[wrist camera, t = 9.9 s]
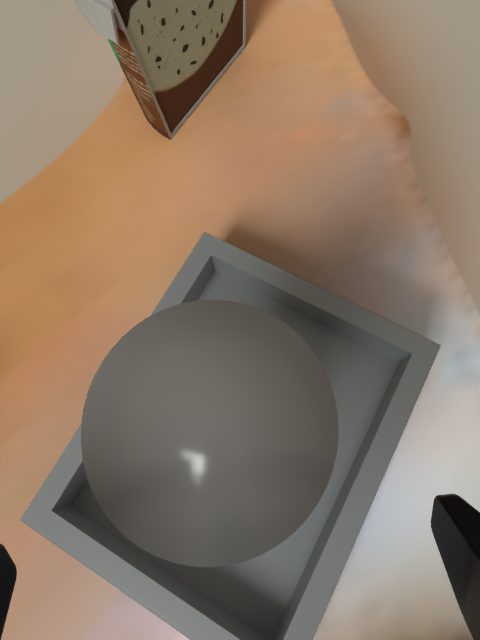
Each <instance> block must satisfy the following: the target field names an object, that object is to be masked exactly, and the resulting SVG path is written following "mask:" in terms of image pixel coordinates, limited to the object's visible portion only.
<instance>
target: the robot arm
mask: <svg viewBox="0 0 480 640" xmlns="http://www.w3.org/2000/svg"><path fill="white" fill-rule="evenodd" d="M431 528H432V532H433V535H434V538H435V541H436V544H437V546H438V549H439V552H440V555H441V557H442V560H443V563H444V566H445V569H446V571H447V574H448V577H449V580H450V582H451V585H452V588H453V591H454V593H455V596H456V599H457V602H458V604H459V607H460V610H461V612H462V615H463V617H464V619H465V622H466V624H467V626H468V628H469V630H470V633H471V635H472V637H473V639H474V640H480V513H479V512H478V511H477V510H476V509H475V508H473V507H472V506H471V505H470V504H468V503H467V502H466V501H465V500H464V499H462V498H461V497H460V496H458V495H456V494H446V495H438V496H436V497H435V499H434V504H433V511H432V518H431ZM16 575H17V571H16V566H15V564H14V562H13V561H12V559H11V557H10V555H9V554H8V552H7V550H6V549H5V547H4V546H3V545H2V544H0V640H1V637H2V633H3V629H4V625H5V621H6V617H7V613H8V609H9V605H10V601H11V597H12V593H13V589H14V585H15V581H16Z"/></svg>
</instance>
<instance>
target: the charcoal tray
mask: <svg viewBox="0 0 480 640" xmlns="http://www.w3.org/2000/svg"><path fill="white" fill-rule="evenodd" d="M199 300H227V301H234V302H239V303H243V304H247V305H251V306H253V307H256V308H258V309H261V310H263V311H266V312H268V313H269V314H271V315H273V316H275V317H277V318H278V319H280V320H281V321H283V322H284V323H285V324H287V325H288V326H290V327H291V328H292V329H293V330H294V331H295V332H296V333H298V334H299V335H300V336H301V337H302V338H303V339H304V340H305V341H306V343H307V344H308V345H309V346H310V348H311V349H312V350H313V351H314V353H315V354H316V356H317V358H318V359H319V361H320V362H321V364H322V366H323V368H324V370H325V372H326V374H327V376H328V379H329V381H330V383H331V387H332V390H333V393H334V397H335V401H336V407H337V413H338V427H339V437H338V448H337V455H336V459H335V464H334V468H333V471H332V474H331V477H330V480H329V482H328V485H327V488H326V490H325V491H324V493H323V495H322V497H321V499H320V501H319V503H318V504H317V506H316V507H315V509H314V510H313V511H312V513H311V514H310V516H309V517H308V518H307V520H306V521H305V522H304V523H303V524H302V525H301V526H300V527H299V528H298V529H297V530H296V531H295V532H294V533H293V534H292V535H291V536H289V537H288V538H287V539H286V540H284V541H283V542H282V543H281V544H279V545H278V546H276V547H274V548H273V549H271V550H269V551H268V552H266V553H264V554H262V555H260V556H257V557H255V558H252V559H250V560H248V561H244V562H240V563H236V564H232V565H228V566H219V567H192V566H187V565H182V564H177V563H172V562H170V561H167V560H164V559H161V558H159V557H156V556H154V555H152V554H150V553H149V552H147V551H145V550H143V549H141V548H140V547H138V546H137V545H136V544H134V543H133V542H132V541H130V540H129V539H127V538H126V537H125V536H124V535H123V534H122V533H121V532H120V531H119V530H118V529H117V528H116V527H115V526H114V525H113V524H112V522H111V521H110V520H109V518H108V517H107V516H106V514H105V513H104V512H103V511H102V509H101V507H100V505H99V503H98V502H97V500H96V498H95V496H94V494H93V492H92V489H91V487H90V484H89V482H88V479H87V476H86V472H85V468H84V464H83V458H82V449H81V426H80V427H79V429H78V430H77V432H76V433H75V435H74V436H73V438H72V440H71V441H70V443H69V444H68V446H67V447H66V449H65V451H64V452H63V454H62V455H61V457H60V458H59V460H58V461H57V463H56V465H55V466H54V468H53V469H52V471H51V472H50V474H49V476H48V477H47V479H46V480H45V482H44V483H43V485H42V486H41V488H40V490H39V491H38V493H37V494H36V496H35V497H34V499H33V501H32V502H31V504H30V505H29V507H28V508H27V510H26V511H25V513H24V515H23V516H22V518H21V519H20V520H21V521H22V522H23V523H25V524H26V525H28V526H29V527H31V528H32V529H33V530H35V531H36V532H38V533H39V534H41V535H42V536H43V537H45V538H46V539H48V540H49V541H50V542H52V543H53V544H55V545H56V546H58V547H59V548H60V549H62V550H63V551H65V552H66V553H68V554H69V555H70V556H72V557H73V558H75V559H76V560H78V561H79V562H80V563H82V564H83V565H85V566H86V567H88V568H89V569H90V570H92V571H93V572H95V573H96V574H98V575H99V576H100V577H102V578H103V579H105V580H106V581H108V582H109V583H110V584H112V585H113V586H115V587H116V588H118V589H119V590H120V591H122V592H123V593H125V594H126V595H128V596H129V597H130V598H132V599H133V600H135V601H136V602H137V603H139V604H140V605H142V606H143V607H145V608H146V609H147V610H149V611H150V612H152V613H153V614H155V615H156V616H157V617H159V618H160V619H162V620H163V621H165V622H166V623H167V624H169V625H170V626H172V627H173V628H175V629H176V630H177V631H179V632H180V633H182V634H183V635H185V636H186V637H187V638H189V639H190V640H313V637H314V635H315V633H316V631H317V628H318V626H319V624H320V621H321V619H322V617H323V615H324V612H325V610H326V608H327V605H328V603H329V601H330V598H331V596H332V594H333V592H334V589H335V587H336V585H337V582H338V580H339V578H340V575H341V573H342V571H343V569H344V566H345V564H346V562H347V559H348V557H349V555H350V553H351V550H352V548H353V546H354V543H355V541H356V539H357V536H358V534H359V532H360V530H361V527H362V525H363V523H364V520H365V518H366V516H367V513H368V511H369V509H370V507H371V504H372V502H373V500H374V497H375V495H376V493H377V491H378V488H379V486H380V484H381V481H382V479H383V477H384V474H385V472H386V470H387V468H388V465H389V463H390V461H391V458H392V456H393V454H394V451H395V449H396V447H397V445H398V442H399V440H400V438H401V435H402V433H403V431H404V429H405V426H406V424H407V422H408V419H409V417H410V415H411V412H412V410H413V408H414V406H415V403H416V401H417V399H418V396H419V394H420V392H421V389H422V387H423V385H424V383H425V380H426V378H427V376H428V373H429V371H430V369H431V367H432V364H433V362H434V360H435V357H436V355H437V353H438V350H439V348H440V346H441V345H439V344H437V343H435V342H433V341H431V340H429V339H427V338H425V337H422V336H420V335H418V334H416V333H414V332H412V331H410V330H408V329H406V328H404V327H402V326H400V325H397V324H395V323H393V322H391V321H389V320H387V319H385V318H383V317H381V316H379V315H377V314H375V313H372V312H370V311H368V310H366V309H364V308H362V307H360V306H358V305H356V304H354V303H352V302H349V301H347V300H345V299H343V298H341V297H339V296H337V295H335V294H333V293H331V292H329V291H327V290H324V289H322V288H320V287H318V286H316V285H314V284H312V283H310V282H308V281H306V280H304V279H301V278H299V277H297V276H295V275H293V274H291V273H289V272H287V271H285V270H283V269H281V268H279V267H276V266H274V265H272V264H270V263H268V262H266V261H264V260H262V259H260V258H258V257H256V256H254V255H251V254H249V253H247V252H245V251H243V250H241V249H239V248H237V247H235V246H233V245H231V244H228V243H226V242H224V241H222V240H220V239H218V238H216V237H214V236H212V235H210V234H208V233H206V232H204V233H203V235H202V236H201V238H200V240H199V241H198V243H197V244H196V246H195V247H194V249H193V250H192V252H191V254H190V255H189V257H188V258H187V260H186V261H185V263H184V265H183V266H182V268H181V269H180V271H179V272H178V274H177V275H176V277H175V279H174V280H173V282H172V283H171V285H170V286H169V288H168V290H167V291H166V293H165V294H164V296H163V297H162V299H161V300H160V302H159V304H158V305H157V307H156V308H155V310H154V311H153V313H152V315H154V314H156V313H157V312H159V311H161V310H164V309H167V308H169V307H172V306H175V305H178V304H182V303H186V302H191V301H199ZM152 315H151V316H152Z"/></svg>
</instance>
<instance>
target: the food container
mask: <svg viewBox="0 0 480 640" xmlns="http://www.w3.org/2000/svg"><path fill="white" fill-rule="evenodd" d="M75 2H76V4H77V6H78V8H79V10H80V12H81V14H82V15H83V16H84V18H85V19H86V20H87V21H88V23H89V24H90V25H91V26H92V27H93V28H95V29H96V30H97V31H98V32H99V33H101V34H102V35H103V36H104V37H106V38H107V39H108V41H109V43H110V45H111V47H112V49H113V51H114V53H115V55H116V57H117V59H118V61H119V63H120V66H121V68H122V70H123V72H124V74H125V76H126V78H127V80H128V82H129V84H130V86H131V88H132V90H133V92H134V94H135V97H136V99H137V101H138V103H139V105H140V107H141V109H142V111H143V113H144V115H145V117H146V118H147V120H148V122H149V123H150V124H151V125H152V127H153V128H154V129H155V130H157V131H158V132H159V133H160V134H161V135H163V136H165V137H166V138H168V139H170V140H171V139H172V138H173V137H174V135H175V134H176V133H177V132H178V130H179V129H180V128H181V127H182V125H183V124H184V123H185V122H186V120H187V119H188V118H189V117H190V115H191V114H192V113H193V112H194V111H195V109H196V108H197V107H198V106H199V104H200V103H201V102H202V101H203V99H204V98H205V97H206V96H207V94H208V93H209V92H210V91H211V89H212V88H213V87H214V86H215V84H216V83H217V82H218V81H219V79H220V78H221V77H222V76H223V75H224V73H225V72H226V71H227V70H228V68H229V67H230V66H231V65H232V63H233V62H234V61H235V60H236V58H237V57H238V56H239V55H240V53H241V52H242V51H243V50H244V48H245V47H246V16H247V0H75Z"/></svg>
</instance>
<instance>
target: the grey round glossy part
mask: <svg viewBox="0 0 480 640" xmlns="http://www.w3.org/2000/svg"><path fill="white" fill-rule="evenodd" d="M338 437H339V427H338V413H337V407H336V401H335V397H334V393H333V390H332V387H331V383H330V381H329V379H328V376H327V374H326V372H325V370H324V368H323V366H322V364H321V362H320V361H319V359H318V358H317V356H316V354H315V353H314V351H313V350H312V349H311V348H310V346H309V345H308V344H307V343H306V341H305V340H304V339H303V338H302V337H301V336H300V335H299V334H298V333H296V332H295V331H294V330H293V329H292V328H291V327H290V326H288V325H287V324H285V323H284V322H283V321H281V320H280V319H278V318H277V317H275V316H273V315H271V314H269V313H268V312H266V311H263V310H261V309H258V308H256V307H253V306H251V305H247V304H243V303H239V302H234V301H227V300H199V301H191V302H186V303H182V304H178V305H175V306H172V307H169V308H167V309H164V310H161V311H159V312H157V313H156V314H154V315H152V316H150V317H148V318H146V319H145V320H143V321H142V322H140V323H139V324H137V325H136V326H135V327H133V328H132V329H131V330H130V331H129V332H128V333H126V334H125V335H124V336H123V337H122V338H121V339H120V340H119V341H118V342H117V344H116V345H115V346H114V347H113V348H112V349H111V350H110V352H109V353H108V355H107V356H106V357H105V359H104V360H103V362H102V363H101V365H100V367H99V369H98V371H97V373H96V374H95V376H94V378H93V381H92V383H91V386H90V388H89V391H88V394H87V397H86V401H85V405H84V409H83V416H82V423H81V449H82V458H83V464H84V468H85V472H86V476H87V479H88V482H89V484H90V487H91V489H92V492H93V494H94V496H95V498H96V500H97V502H98V503H99V505H100V507H101V509H102V511H103V512H104V513H105V514H106V516H107V517H108V518H109V520H110V521H111V522H112V524H113V525H114V526H115V527H116V528H117V529H118V530H119V531H120V532H121V533H122V534H123V535H124V536H125V537H126V538H127V539H129V540H130V541H132V542H133V543H134V544H136V545H137V546H138V547H140V548H141V549H143V550H145V551H147V552H149V553H150V554H152V555H154V556H156V557H159V558H161V559H164V560H167V561H170V562H172V563H177V564H182V565H187V566H192V567H219V566H228V565H232V564H236V563H240V562H244V561H248V560H250V559H252V558H255V557H257V556H260V555H262V554H264V553H266V552H268V551H269V550H271V549H273V548H274V547H276V546H278V545H279V544H281V543H282V542H283V541H284V540H286V539H287V538H288V537H289V536H291V535H292V534H293V533H294V532H295V531H296V530H297V529H298V528H299V527H300V526H301V525H302V524H303V523H304V522H305V521H306V520H307V518H308V517H309V516H310V514H311V513H312V511H313V510H314V509H315V507H316V506H317V504H318V503H319V501H320V499H321V497H322V495H323V493H324V491H325V490H326V488H327V485H328V482H329V480H330V477H331V474H332V471H333V468H334V464H335V459H336V455H337V448H338Z"/></svg>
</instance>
